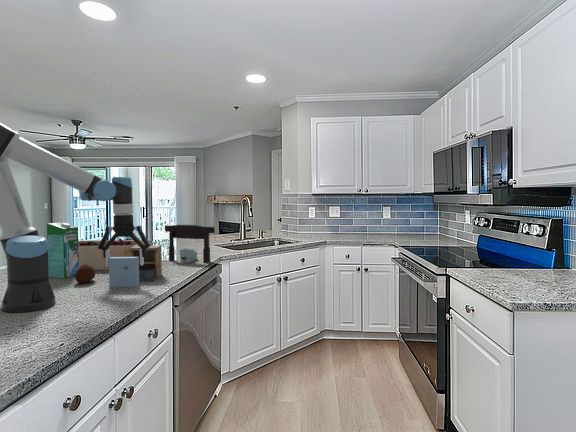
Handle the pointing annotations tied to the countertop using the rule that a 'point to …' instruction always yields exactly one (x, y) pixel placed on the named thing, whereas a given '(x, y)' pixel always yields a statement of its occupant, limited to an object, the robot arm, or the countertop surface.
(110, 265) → the block
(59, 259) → the milk carton
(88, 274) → the potato
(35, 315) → the countertop surface
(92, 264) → the planter tray
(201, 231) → the stool
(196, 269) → the countertop surface
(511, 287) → the countertop surface
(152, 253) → the cabinet
